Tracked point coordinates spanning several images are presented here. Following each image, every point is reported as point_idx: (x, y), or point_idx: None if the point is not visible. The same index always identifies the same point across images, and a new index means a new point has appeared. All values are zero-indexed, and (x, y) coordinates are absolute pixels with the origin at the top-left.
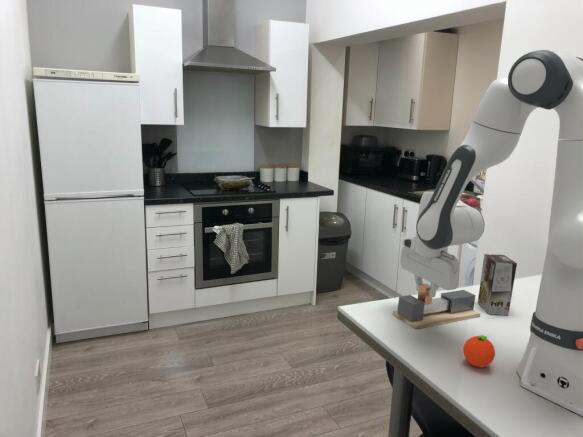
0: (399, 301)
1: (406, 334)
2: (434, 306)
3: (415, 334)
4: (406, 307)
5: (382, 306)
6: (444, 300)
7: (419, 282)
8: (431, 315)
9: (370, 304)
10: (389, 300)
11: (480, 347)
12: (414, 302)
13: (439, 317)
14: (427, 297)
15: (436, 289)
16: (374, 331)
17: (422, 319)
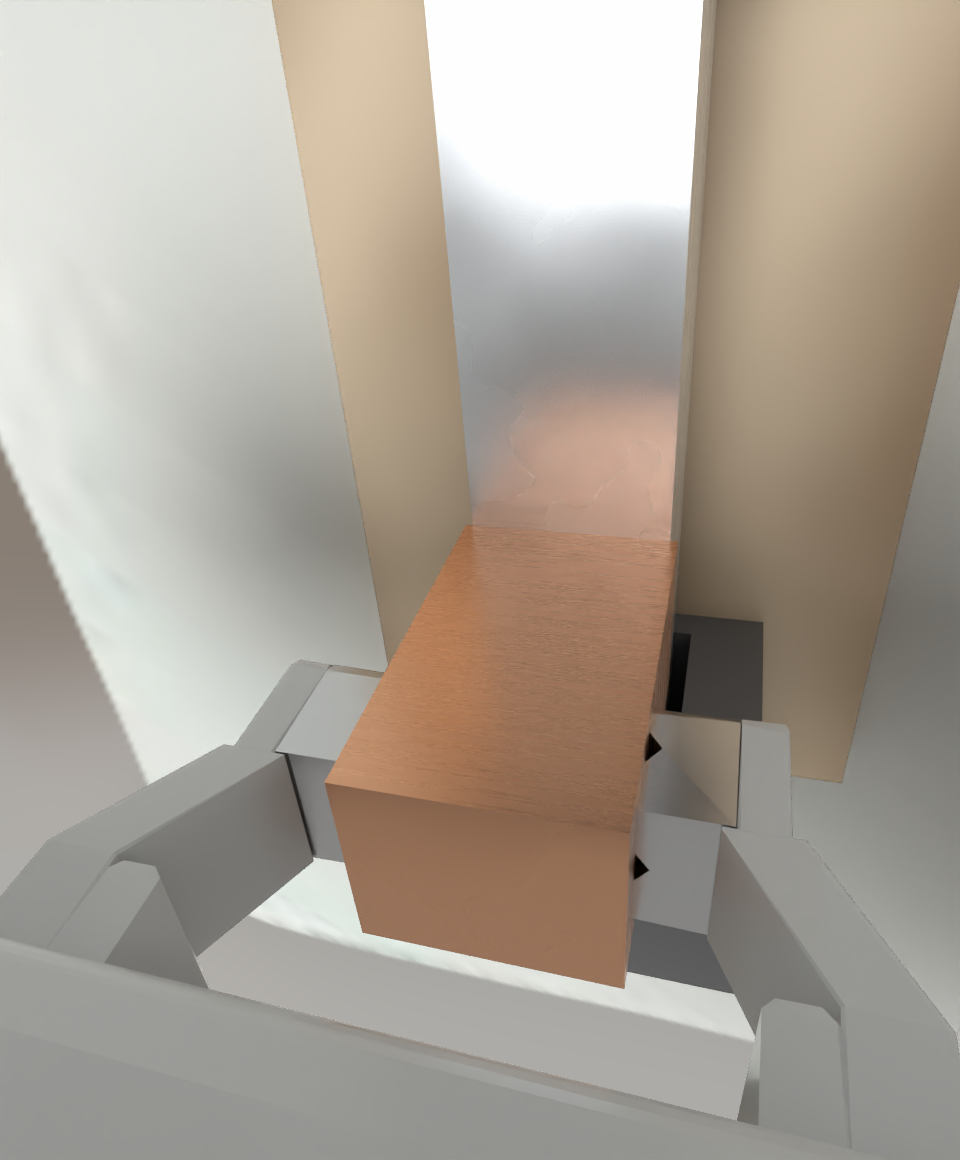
0: None
1: (883, 889)
2: (682, 415)
3: (942, 832)
4: None
5: (203, 641)
6: (631, 65)
7: (248, 858)
8: None
9: (151, 702)
10: (34, 463)
11: None
12: (673, 934)
13: (816, 303)
14: None
15: (855, 944)
16: (684, 1006)
17: (761, 631)
